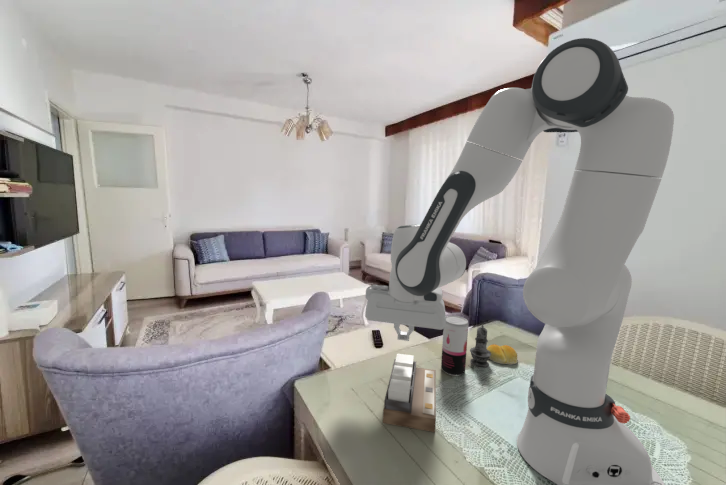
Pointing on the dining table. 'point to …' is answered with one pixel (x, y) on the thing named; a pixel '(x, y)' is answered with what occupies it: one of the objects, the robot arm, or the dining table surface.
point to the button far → (404, 360)
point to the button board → (414, 402)
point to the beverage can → (454, 345)
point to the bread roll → (503, 354)
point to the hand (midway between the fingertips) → (403, 339)
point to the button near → (399, 390)
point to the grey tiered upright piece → (480, 349)
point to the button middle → (402, 373)
